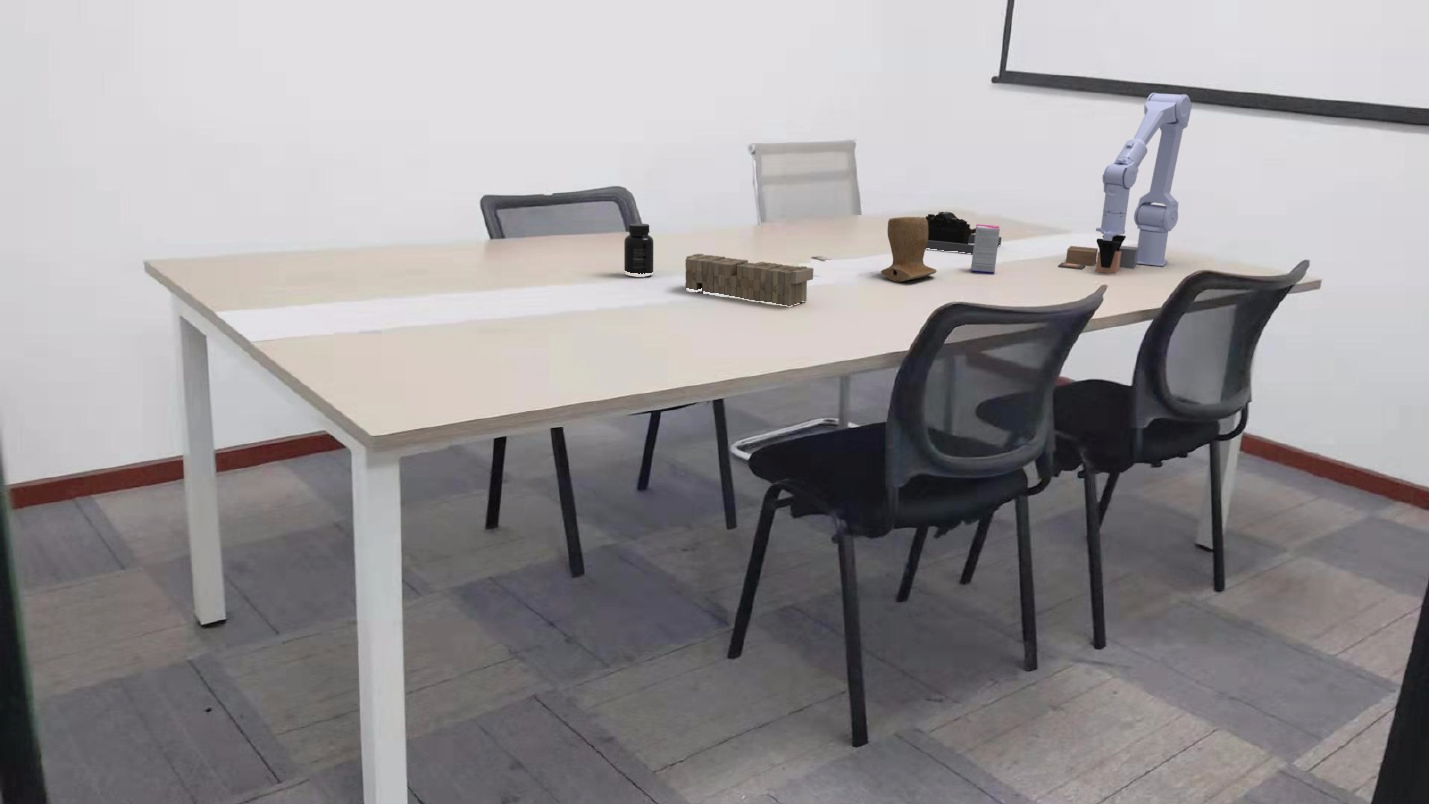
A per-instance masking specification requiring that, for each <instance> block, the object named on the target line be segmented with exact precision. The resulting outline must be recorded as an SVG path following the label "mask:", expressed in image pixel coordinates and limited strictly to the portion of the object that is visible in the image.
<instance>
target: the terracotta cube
mask: <svg viewBox="0 0 1429 804" xmlns="http://www.w3.org/2000/svg"><path fill="white" fill-rule="evenodd" d="M1120 258H1121V251H1115V254H1114V257H1113V261H1112V264H1111V266H1110V268H1104V267H1101V260H1100V251H1097V259H1096V263H1095V264H1096V266H1095V272H1100V273H1106V274H1117V273H1118V272H1119V271H1120V267H1119V265H1120Z"/></svg>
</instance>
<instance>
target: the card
mask: <svg viewBox="0 0 1429 804" xmlns="http://www.w3.org/2000/svg"><path fill="white" fill-rule="evenodd" d="M1057 268H1065V269H1074V270H1083V269H1084V268H1086V266H1085V265H1079V264H1070V263H1066V262H1060V263H1059V264H1058V266H1057Z"/></svg>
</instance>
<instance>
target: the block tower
mask: <svg viewBox="0 0 1429 804" xmlns="http://www.w3.org/2000/svg"><path fill="white" fill-rule="evenodd" d="M813 279H814V267H807V266H804V265H803V266H801V265H800V266H793V265H787V264H780V263H774V262H773V263H772V262H765V261H758V262H749V260H748V259H739V258H738V259H737V258H731V257H726V256H719V255H713V254H711V255H710V254H704V253H695V254H692V255H688V256H686V258H685V289H686V288H689V289H694V290H698V289H701V288H702V291H705V292H710V293H719V294H724V295H729V296H735V297H740V298H744V299H749V300H755V301H764V302H772V303H776V304H782V305H787V306H791V305H794V304H797V303H800V302H802V301H806V302H807V299H808V298H807V295H808V288H807V287H808V286H807V285H808V281H811V280H813Z"/></svg>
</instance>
